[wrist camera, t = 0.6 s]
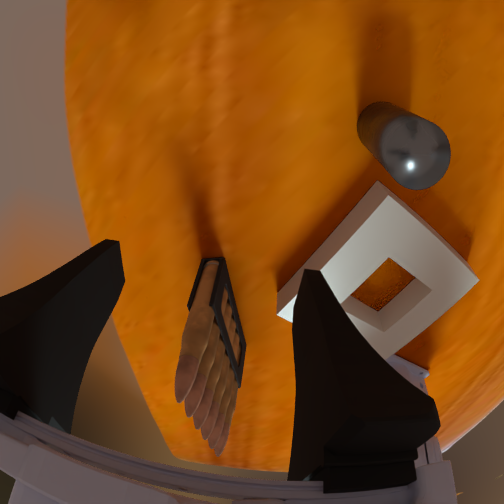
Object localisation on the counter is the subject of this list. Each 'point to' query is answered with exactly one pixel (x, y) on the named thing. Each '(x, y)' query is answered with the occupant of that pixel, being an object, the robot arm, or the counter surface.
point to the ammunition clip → (211, 354)
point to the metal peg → (405, 144)
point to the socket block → (372, 256)
